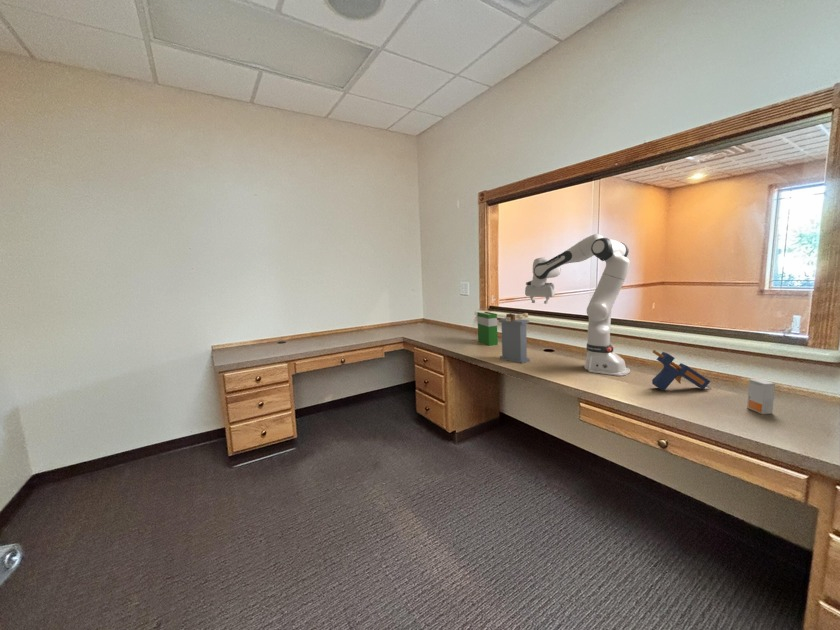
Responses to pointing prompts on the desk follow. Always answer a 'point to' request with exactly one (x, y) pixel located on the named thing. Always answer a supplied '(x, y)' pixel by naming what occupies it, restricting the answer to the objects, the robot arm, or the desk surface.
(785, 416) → the desk surface
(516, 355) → the stand
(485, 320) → the green white box
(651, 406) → the desk surface
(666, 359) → the glue gun
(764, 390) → the skincare box
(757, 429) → the desk surface
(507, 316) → the marking gauge
